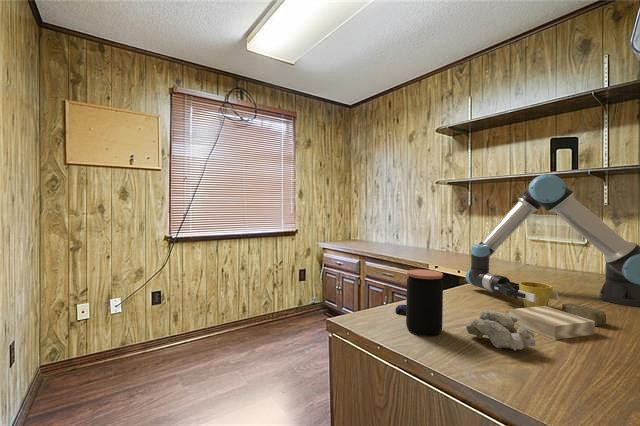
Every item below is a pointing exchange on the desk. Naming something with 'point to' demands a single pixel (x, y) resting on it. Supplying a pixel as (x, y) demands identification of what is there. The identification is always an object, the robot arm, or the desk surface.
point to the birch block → (552, 322)
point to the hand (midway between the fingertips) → (546, 297)
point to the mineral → (501, 330)
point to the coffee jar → (424, 302)
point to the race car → (401, 309)
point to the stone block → (586, 313)
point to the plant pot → (536, 293)
